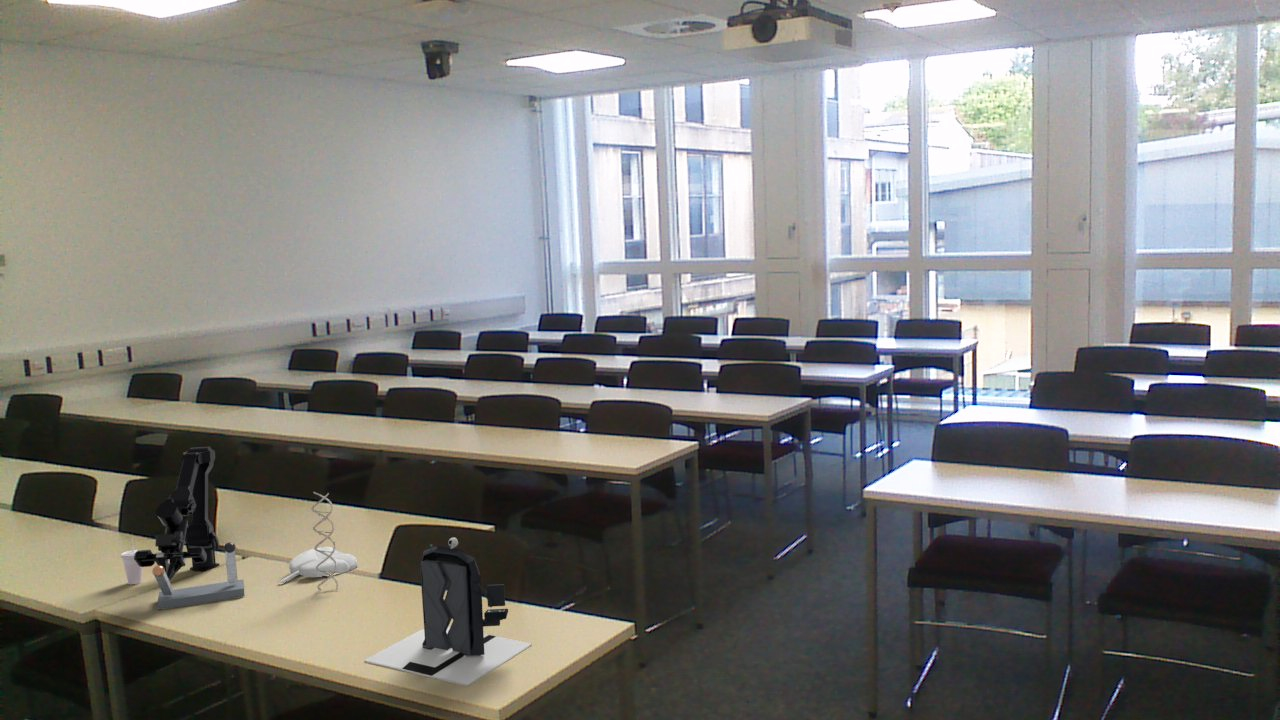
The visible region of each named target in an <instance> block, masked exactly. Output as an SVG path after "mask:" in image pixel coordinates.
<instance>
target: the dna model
mask: <svg viewBox="0 0 1280 720" xmlns="http://www.w3.org/2000/svg"><path fill="white" fill-rule="evenodd" d="M312 492H313V494H314V495H317V496H318V497H320V498H321V499H320V500H318V501H317V502H316V503H314V504H313V505H312V507H311V511H312V513H315V514H317V515H318V516H320V517H323V518H322V519H321V520H319V522H317V523H316V524H315V525H314V526H313V527H312V530H313V531H314V532H315V533H317V534H318V535H319V536H321V535H322V536H324V538H323V539H322V540H320V541H319V542H318V543H316V545H315V546H314V548H313V549H315V550H316V551H318V552H320V553H321V554H324V555H326V556H328V557H327V558H326V559H324V560H323V561H322V562H320V563H319V564H318V565H317V566H316V569H317V570H318V571H320V572H323V573H325V574H327V575H329V576H327V578H326V579H324V580H323V581H321V582H320V583H319V584H317V586H316V587H317V589H318V590H319V589H321V590H322V588H321V586H322V585H323V584H325V583H326V582H327V581H328V580H330V579H331V578H332V579H333V580H334V582H335V584H336V585H335V586H336V588H335V590H337V591H338V589H339V581H338V579H337V578H336V577H335V575H334V576H332V575H333V574H334V573H335V571H336V569H337V564H336V561H335V559H334V558H333V557H331V555H332V554H333V553H334V551H335V549H336V541H335V540H334V539H332V537H330V536H332V534H333V533H334V531H335V524H334V522H333V521H332V520H331V519H330V518H329V516H330V515H331V514H332V513H333V508H334V507H333V503H332V501H331V500H330V499H329V498H327V497H328V496H329V495H330V493H329V492H327V494H326V495H322V494H321V493H318V492H316V491H312ZM324 500H326V501H327V503H329V505H330V509H329V511H319V510H315V507H316V506H317V505H320V503H321V502H322V501H324ZM324 514H326V515H324ZM326 520H327V521H329V523H330V524H331V530H330V531H324V530H323V531H322V530H317V529H316V527H318V526H319V525H320V524H321V523H323V522H325V521H326ZM325 533H327V534H328V535H326V534H325ZM327 539H329V540H330V541H331V542H332V544H333V547H332V548H333V551H332V552H330V553H331V554H330V555H328V554H326V553H324V552H326V551H320V550H318V549H317V548H318V547H319V546H320V545H321V544H322V543H324V542H325V541H326V540H327ZM327 552H329V551H327ZM328 558H331V559H332V560H333V561H334V563H335V568H334V571H333V572H332V571H328V572H332V574H331V575H330V574H328V573H327V572H326V571H324V570H320V569H319V568H318V566H319V565H321V564H322V563H324V562H325V561H326V560H327V559H328Z"/></svg>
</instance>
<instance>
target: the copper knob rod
mask: <svg viewBox="0 0 1280 720" xmlns="http://www.w3.org/2000/svg"><path fill="white" fill-rule="evenodd" d="M151 573H152V575H153V576H154V578H155V580H156V581H157V585H158V586H159V589H160V592H162V593H163V595H164V596H167V595H173V591H174V590H175V589H174V588H173V586H172V584H171V580H170V581H169V579H168V577H167V575H166V572H165V569H164V567H163V566H161V565H157V564H156V565H155V566H154V567H153V568H152V571H151Z"/></svg>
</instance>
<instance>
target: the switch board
mask: <svg viewBox="0 0 1280 720" xmlns="http://www.w3.org/2000/svg"><path fill="white" fill-rule="evenodd" d="M237 580H238V582H235V583H231V584H229V583H228V581H224V582H223V581H222V582H216V583H211V584H210V583H209V584H204V585H203V584H202V585H197V586H190V587H184V588H177V589H173V590H174V591H173V595H167V596H164V595H163V593H162V591H159V593H158V595H157V596H158V597H157V603H156V604H157V611H160V610H159V609H162V610H167V609H168V610H169V609H174V608H180V607H187V606H192V605H193V606H194V605H199V604H204V603H210V602H212V603H214V602H218V601H225V600H232V599H237V598H243V596H244V597H245V584H244V583H245V582H244V579H243V578H242V579H237Z"/></svg>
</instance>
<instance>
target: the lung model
mask: <svg viewBox="0 0 1280 720" xmlns="http://www.w3.org/2000/svg"><path fill="white" fill-rule="evenodd" d="M333 548H334V547H330V546H320V547H317V549H318V550H320V551H326V552H324V553H326V554H328V555H330V554H331V553H330V552H332V551H333ZM327 551H329V552H327ZM327 557H328V556H326V555H324V554H321V553H320V552H318V551H316V550H315V549H314V548H310V549H307V550H305V551H303V552H301V553H299V554H298V555H297V556H295V557H293V558H292V559H291V560H290V562H289V564H288V569H289V572H290V574H289V575H287V576H285V577H284V578H282V579H281V580H280V581H277V583H279V582H280V583H284V582H286V581H287V582H289V581H291V580H292V579H294V578H296V577H297V576H299V575H300V576H303V577H307V578H323V577H322V576H327V574H325V573H323V572H320V571H318V570H317V569H316V566H317V565H318V564H319V563H320V562H322V561H323V560H324V559H326V558H327ZM331 557H333V558H334V559H335V561H336V564H337V569H336V571H335V573H342V574H344V573H347V572H350V571H352V570H354V569H356V568H357V566H358V561H357V558H356V557H355V556H354V555H352V554H351V553H346V552H341V551H340V550H337V549H336V548H335V551H334V553H333V554H332V555H331ZM318 568H319V569H320V570H324V571H326V572H327V573H328V574H332V572H333V571H334V568H335V563H334V561H333V560H332V559H331V558H328V559H327V560H326V561H325V562H324V563H322V564H321V565H319V566H318ZM328 571H332V572H328ZM327 577H328V576H327ZM288 580H289V581H288ZM287 582H286V583H287Z"/></svg>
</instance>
